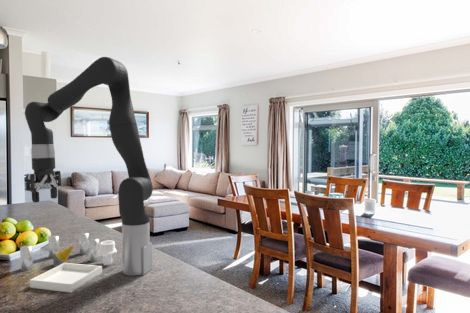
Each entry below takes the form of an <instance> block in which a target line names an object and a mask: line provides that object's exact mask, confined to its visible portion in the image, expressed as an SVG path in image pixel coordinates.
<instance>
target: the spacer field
mask: <svg viewBox="0 0 470 313" xmlns="http://www.w3.org/2000/svg"><path fill="white" fill-rule="evenodd" d="M89 233H90V232H81V233H79V234H78V248H79V249H78V252H79V255H80V256H81V255H83V256H84V255H88V256H89V257H88V258H89V259H88V261H89V262H90V263H95V262H96V263H97V262H98V261H100V259H101V258H100V257H101V256H98V251H99V250H100V238H98V237H96V238H93V237H92V238H90V237H89V236H90V234H89ZM19 251H20V253H19V254H20V256H19V257H20V271H21V272H27V271H31V270H33V268H34V267H33V266H34V265H33V263H34V262H33V259H34V258H33V245H31V244H30V245H29V244H28V245H21V246H20V248H19ZM58 252H60V235H58V234H57V235H50V236H48V258H49V259H54V257H53V255H54V254H55V253H58Z"/></svg>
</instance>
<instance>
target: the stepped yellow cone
mask: <svg viewBox="0 0 470 313" xmlns="http://www.w3.org/2000/svg"><path fill="white" fill-rule="evenodd" d="M74 246H75V244H72V245H71V246H69V247H66V248H64V249H63V250H61V251H60V250H59V252H58V253H55V254H54V255H53V257H54V258H53V264H52V267H57V266H59V265H61V264H63V263H67V260H68V258H69V257H70V254H71V252H72V250H73V248H74Z"/></svg>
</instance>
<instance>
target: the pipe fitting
mask: <svg viewBox="0 0 470 313" xmlns="http://www.w3.org/2000/svg"><path fill="white" fill-rule="evenodd" d="M115 246H116V242H115V241H114V240H112V239H111V240H103V241H101V242H99V251H98V256H99V257H102V264H103V266H111V265H112V264H113V256H114V255H117V254H118V253H117V252H118V251H117V248H116V247H115Z"/></svg>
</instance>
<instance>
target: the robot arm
mask: <svg viewBox="0 0 470 313" xmlns="http://www.w3.org/2000/svg"><path fill="white" fill-rule="evenodd" d="M100 85H105V86H107V87H108V89H109V93H110V97H111V109H110V113H109V119H108V127H109V131H110V135H111V140H112V143H113V145H114V147H115V149H116V151H117V153H118V154H119V155H120V156H121V158H122V160H123V162H124V164H125V166H126V170H127V174H128V177H126V178H124V179H123V180H122V181H121V182H120V184H119V186H118V192H117V193H118V196H117V197H118V212H119V216H120V217H121V244H122V245H121V246H122V247H121V248H122V249H121V250H122V252H121V254H122V274H123V275H125V276H130V277H133V276H145V275H146V274H147V273H149V272H150V271H151V270H152V269H153V242H151V241H150V240H151V239H150V238H151V237H150V233H151V232H150V231H151V230H150V226H151V225H150V221H151V220H150V213H148V212H146V211H145V201H147V200H149V198H151V196H152V194H153V191H154V190H153V189H154V187H153V182H152V179H151V176H150V173H149V170H148V168H147V164H146V161H145V160H146V159H145V156H144V151H143V147H142V143H141V138H140V132H139V127H138V125H137V120H136V116H135V111H134V106H133V102H132V97H131V91H130V90H131V89H130V79H129V73H128V69H127V67H126V65H125V64H124V63H122V62H121V61H119V60H117V59H114V58H112V57H108V56H102V57H98V58H97V59H96V60H95V61H94V62H92V63H91V64H90V65H89V66H88V67H87V68H86V69H84V70H83V71H82V72H81V73H80V74H79V75H77V76H76V77H75V78H74V79H73V80H72V81H70V82H69V83H67V84H66V85H64V86H63V87H61V88H60V89H57V90H55V91H54V92H52V93H51V94H50V95H49V96H48V97H47V102H46V103H45V102H39V101H31V102H29V103H27V104H26V106H25V109H24V116H25V120H26V122H27V126H28V128H29V131H30V134H31V135H30V136H31V137H30V138H31V147H30V148H31V149H30V150H31V151H30V153H31V169H32V170H33V173H26V175H25V189H26V191H27V192H30V193H31V200H32V202H33V203H40V191H39V190H40V188H42V187H43V185H48V186H49V187H50V189H49V190H50V198H51V199H57V198H58V188H59V187H61V186H62V174H61V171H60V170H54V169H56V150H55V144H54V132H53V130H52V129H51V128H48V127H46V124H45V123H50V122H54V121H55V120H57V119H58V118H59V117H60V116H61V115H62V114H63V112H64V111H67V109H70V108H71V107H73V106H75V105H77V104H78V103H79V102H80V101H81V100H82V99H83V97H84V95H85V94H86V93H87V92H89V91H90V90H91V89H93V88H95V87H97V86H100Z"/></svg>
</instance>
